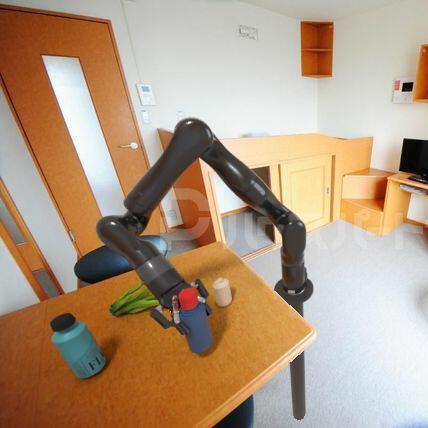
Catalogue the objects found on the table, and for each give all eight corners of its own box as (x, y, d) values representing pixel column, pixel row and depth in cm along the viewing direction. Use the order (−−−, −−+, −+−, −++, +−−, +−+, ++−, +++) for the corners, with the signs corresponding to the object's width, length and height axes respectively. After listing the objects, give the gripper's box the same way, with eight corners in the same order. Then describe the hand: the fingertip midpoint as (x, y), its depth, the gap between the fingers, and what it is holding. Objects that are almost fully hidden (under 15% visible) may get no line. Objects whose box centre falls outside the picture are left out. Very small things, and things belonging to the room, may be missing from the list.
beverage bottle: (97, 382, 63) (63, 329, 54) (70, 384, 62) (32, 330, 54) (114, 358, 69) (86, 307, 60) (90, 359, 68) (58, 308, 60)
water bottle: (208, 330, 72) (195, 282, 65) (216, 343, 68) (204, 295, 61) (186, 342, 69) (170, 294, 61) (193, 357, 65) (177, 308, 57)
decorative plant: (199, 316, 82) (190, 283, 76) (109, 320, 80) (92, 287, 74) (216, 281, 99) (210, 251, 92) (141, 284, 96) (129, 253, 90)
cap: (195, 296, 65) (192, 285, 63) (201, 304, 62) (198, 293, 60) (179, 303, 62) (176, 292, 60) (184, 312, 59) (181, 301, 58)
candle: (216, 308, 85) (211, 287, 81) (216, 298, 90) (211, 277, 86) (232, 304, 88) (228, 282, 83) (231, 294, 92) (227, 273, 88)
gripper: (134, 288, 56) (179, 343, 56) (188, 256, 67) (225, 302, 68) (128, 297, 60) (170, 348, 60) (180, 266, 72) (215, 309, 72)
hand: (199, 323), depth 64 cm, fingers closed on water bottle, 6 cm apart
